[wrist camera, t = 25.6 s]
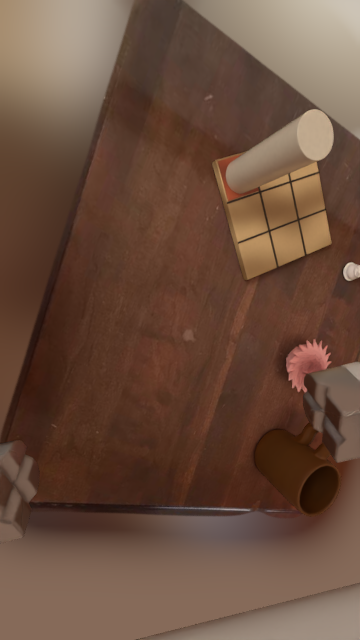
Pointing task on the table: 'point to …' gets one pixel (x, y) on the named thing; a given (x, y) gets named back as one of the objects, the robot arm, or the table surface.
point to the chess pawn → (351, 271)
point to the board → (274, 218)
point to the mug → (299, 469)
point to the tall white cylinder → (282, 152)
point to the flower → (305, 362)
